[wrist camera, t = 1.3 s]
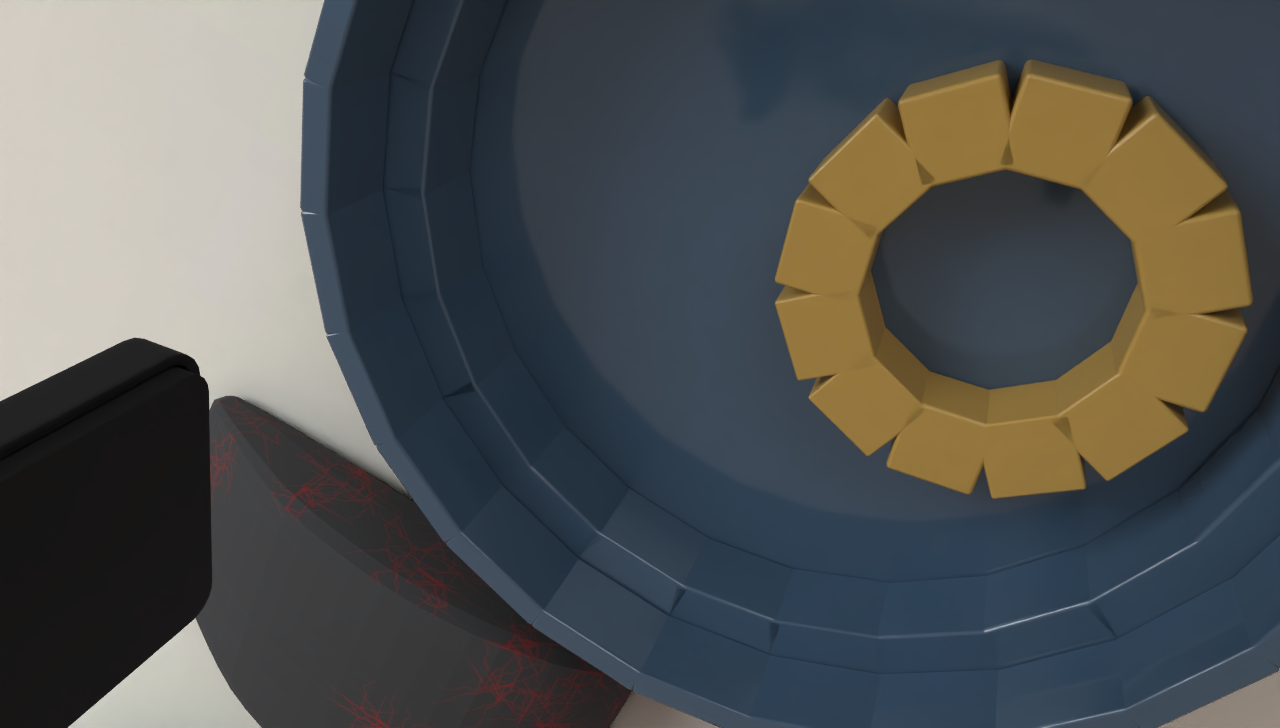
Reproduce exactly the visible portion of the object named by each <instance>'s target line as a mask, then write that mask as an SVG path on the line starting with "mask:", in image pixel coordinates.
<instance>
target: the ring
mask: <svg viewBox="0 0 1280 728" xmlns="http://www.w3.org/2000/svg"><path fill="white" fill-rule="evenodd" d="M1132 104H1133V102H1132V97H1131V95H1130V92H1129V90H1128V88H1127V85H1126V84H1125V83H1124V82H1123V81H1119V80H1115V79H1111V78H1107V77H1103V76H1099V75H1094V74H1090V73H1086V72H1082V71H1078V70H1074V69H1070V68H1066V67H1062V66H1057V65H1053V64H1049V63H1045V62H1041V61H1037V60H1033V59H1032V60H1028V61H1027V62H1026V63H1025V65H1024V68H1023V71H1022V73H1021V76H1020V79H1019V82H1018V85H1017V88H1016V90H1015V93H1014V96H1013V99H1012V96H1011V91H1010V86H1009V81H1008V76H1007V71H1006V67H1005V63H1004V62H1003V60H997V61H993V62H989V63H986V64H982V65H979V66H975V67H971V68H968V69H964V70H961V71H957V72H953V73H950V74H946V75H943V76H939V77H935V78H932V79H928V80H925V81H921V82H918V83H914V84H911V85H909V86H908V87H907V89H906V90H905V92H904V93H903V95H902V97H901V98H900V100H899V101H898V107H897V106H896V105H895V104H894V103H893V102H892V101H891V100H890V99H889V98H886V99H884V100H883V101H882V102H881V103H880V104H879V105H878V106H877V107H876V108H875V109H874V110H873V111H872V112H871V113H870V114H869V115H868V116H867V117H866V118H865V119H864V120H863V121H862V122H861V123H860V124H859V125H858V126H857V127H856V128H854V129H853V130H852V131H851V132H850V133H849V134H848V135H847V136H846V137H845V138H844V139H843V140H842V141H841V142H840V143H839V144H838V145H837V146H836V147H835V148H834V149H833V150H832V151H831V152H830V153H829V154H828V155H827V156H826V157H825V158H824V159H823V160H822V162H821V163H820V164H819V165H818V167H817V168H816V169H815V171H814V172H813V173H812V175H811V176H810V177H809V179H808V181H809V184H808V185H807V187H806V188H805V189H804V191H803V192H802V193H801V195H800V196H799V197H798V198H797V200H796V201H795V205H794V208H793V212H792V216H791V220H790V223H789V227H788V231H787V235H786V238H785V242H784V246H783V250H782V253H781V257H780V261H779V265H778V268H777V272H776V276H775V282H776V283H778V284H782V285H785V287H784V289H783V290H782V292H781V293H780V295H779V297H778V298H777V300H776V301H775V306H776V309H777V313H778V316H779V319H780V323H781V326H782V330H783V333H784V336H785V340H786V343H787V347H788V350H789V354H790V357H791V360H792V364H793V367H794V371H795V374H796V377H797V379H798V380H799V381H801V380H807V379H813V378H817V379H816V381H815V384H814V386H813V388H812V390H811V392H810V395H809V397H808V398H809V400H810V401H811V402H812V403H813V404H814V405H815V406H817V407H818V408H819V409H820V410H821V411H822V412H823V413H824V414H825V415H826V416H827V417H828V418H829V419H830V420H831V421H832V422H833V423H834V424H835V425H836V426H837V427H838V428H839V429H840V430H841V431H842V432H843V433H844V434H845V435H846V436H847V437H848V438H849V439H850V440H851V441H852V442H853V443H854V444H855V445H856V446H857V447H858V448H859V449H860V450H861V451H862V452H863V453H864V454H865V455H866V456H871V455H872V454H873V453H875V452H876V451H877V450H879V449H880V448H881V447H883V446H884V445H885V444H887V443H888V442H889V441H891V440H892V443H891V447H890V451H889V455H888V459H887V462H886V464H887V467H888V468H889V469H892V470H895V471H898V472H901V473H904V474H907V475H910V476H913V477H916V478H919V479H922V480H925V481H928V482H931V483H934V484H937V485H939V486H942V487H945V488H948V489H951V490H954V491H957V492H960V493H963V494H966V495H970V494H971V493H972V492H973V490H974V487H975V485H976V483H977V480H978V478H979V475H980V473H981V470H982V468H983V466H984V469H985V473H986V478H987V482H988V486H989V490H990V494H991V497H992V498H993V499H998V498H1007V497H1017V496H1026V495H1036V494H1046V493H1055V492H1065V491H1074V490H1083V489H1085V488H1086V475H1085V462H1084V459H1085V460H1086V461H1087V462H1088V463H1089V464H1090V465H1091V466H1092V467H1093V468H1094V469H1095V470H1096V471H1097V472H1098V473H1099V474H1100V475H1101V476H1102V477H1103V478H1104V479H1105V480H1107V481H1110V480H1111V479H1113V478H1115V477H1116V476H1118V475H1119V474H1121V473H1123V472H1124V471H1126V470H1127V469H1129V468H1131V467H1132V466H1134V465H1135V464H1137V463H1139V462H1140V461H1142V460H1143V459H1145V458H1147V457H1148V456H1150V455H1151V454H1153V453H1155V452H1156V451H1158V450H1159V449H1161V448H1163V447H1164V446H1166V445H1167V444H1169V443H1171V442H1172V441H1174V440H1175V439H1177V438H1179V437H1180V436H1182V435H1183V434H1185V433H1187V432H1188V430H1189V429H1188V425H1187V421H1186V418H1185V414H1184V410H1183V407H1186V408H1189V409H1192V410H1195V411H1199V412H1205V411H1206V410H1207V409H1208V407H1209V405H1210V403H1211V402H1212V400H1213V398H1214V396H1215V394H1216V392H1217V390H1218V388H1219V386H1220V384H1221V382H1222V380H1223V379H1224V377H1225V375H1226V373H1227V371H1228V369H1229V367H1230V365H1231V363H1232V361H1233V359H1234V357H1235V356H1236V354H1237V352H1238V350H1239V348H1240V346H1241V344H1242V342H1243V340H1244V338H1245V336H1246V334H1247V333H1248V327H1247V325H1246V323H1245V320H1244V318H1243V316H1242V314H1241V312H1240V310H1239V308H1242V307H1248V306H1250V305H1252V303H1253V292H1252V285H1251V278H1250V271H1249V264H1248V257H1247V249H1246V242H1245V235H1244V228H1243V221H1242V214H1241V211H1240V210H1239V208H1238V206H1237V205H1236V203H1235V201H1234V200H1233V198H1232V196H1231V195H1230V193H1229V192H1228V190H1227V188H1228V185H1227V182H1226V181H1225V179H1224V177H1223V176H1222V174H1221V172H1220V171H1219V169H1218V168H1217V166H1216V164H1215V163H1214V161H1213V160H1212V159H1211V158H1210V157H1209V156H1208V155H1207V154H1206V153H1205V152H1204V151H1203V150H1202V149H1201V148H1200V147H1199V146H1198V145H1197V144H1196V143H1195V142H1194V141H1193V140H1192V139H1191V138H1190V137H1189V135H1188V134H1187V133H1186V132H1185V131H1184V130H1183V129H1182V128H1181V127H1180V126H1179V125H1178V124H1177V123H1176V122H1175V121H1174V120H1173V119H1172V118H1171V117H1170V116H1169V115H1168V114H1167V113H1166V112H1165V111H1164V110H1163V109H1162V108H1161V107H1160V105H1159V104H1158V103H1157V102H1156V101H1155V100H1154V99H1153V98H1152V97H1150V96H1146V97H1144V98H1142V99H1141V100H1140V101H1139V102H1138V103H1136V104H1135V105H1134V106H1133V107H1132V108H1131V106H1132ZM1003 170H1009V171H1013V172H1017V173H1020V174H1024V175H1028V176H1032V177H1035V178H1039V179H1043V180H1047V181H1050V182H1054V183H1058V184H1061V185H1065V186H1069V187H1073V188H1076V189H1080V190H1082V191H1083V192H1084V193H1085V194H1086V195H1087V196H1088V197H1089V198H1090V200H1091V201H1092V202H1093V203H1094V204H1095V205H1096V206H1097V207H1098V208H1099V209H1100V210H1101V211H1102V212H1103V213H1104V214H1105V215H1106V216H1107V217H1108V218H1109V219H1110V220H1111V221H1112V222H1113V223H1114V224H1115V225H1116V226H1117V227H1118V228H1119V229H1120V230H1121V231H1122V232H1123V233H1124V234H1125V235H1126V236H1127V237H1128V238H1129V239H1130V242H1131V248H1132V253H1133V259H1134V265H1135V270H1136V276H1137V282H1138V283H1137V285H1136V287H1135V290H1134V292H1133V294H1132V296H1131V298H1130V301H1129V303H1128V305H1127V307H1126V309H1125V312H1124V314H1123V316H1122V318H1121V321H1120V323H1119V325H1118V327H1117V329H1116V332H1115V334H1114V336H1113V338H1112V340H1111V342H1109V343H1108V344H1106V345H1105V346H1104V347H1102V348H1101V349H1099V350H1098V351H1097V352H1095V353H1094V354H1092V355H1091V356H1089V357H1088V358H1087V359H1085V360H1084V361H1082V362H1081V363H1080V364H1078V365H1077V366H1075V367H1074V368H1072V369H1071V370H1070V371H1068V372H1067V373H1065V374H1064V375H1063V376H1061V377H1060V378H1058V379H1057V380H1052V381H1045V382H1038V383H1032V384H1025V385H1018V386H1011V387H1004V388H998V389H991V390H988V389H985V388H981V387H978V386H975V385H972V384H969V383H965V382H962V381H959V380H956V379H953V378H950V377H946V376H943V375H940V374H937V373H934V372H930V371H929V370H928V369H927V368H926V367H925V366H924V365H923V364H922V363H921V362H920V361H919V360H918V359H917V358H916V357H915V356H914V355H913V354H912V353H911V352H910V351H909V350H908V349H907V348H906V347H905V346H904V345H903V344H902V343H901V342H900V341H899V340H898V339H897V338H896V337H895V336H894V335H893V334H892V333H891V332H890V331H889V330H888V329H887V328H886V327H885V323H884V319H883V315H882V311H881V308H880V304H879V300H878V296H877V292H876V288H875V284H874V281H873V277H872V273H871V268H872V265H873V262H874V259H875V255H876V252H877V249H878V246H879V243H880V239H881V236H882V233H883V230H884V229H886V228H887V227H888V226H889V225H890V224H891V223H892V222H893V221H895V220H896V219H897V218H898V217H899V216H900V215H901V214H902V213H904V212H905V211H906V210H907V209H908V208H909V207H910V206H911V205H913V204H914V203H915V202H916V201H917V200H918V199H919V198H920V197H922V196H923V195H924V194H925V193H926V192H927V191H928V190H929V189H930V188H932V187H935V186H939V185H943V184H947V183H952V182H956V181H960V180H964V179H969V178H973V177H977V176H982V175H986V174H990V173H994V172H999V171H1003Z"/></svg>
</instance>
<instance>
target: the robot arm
mask: <svg viewBox="0 0 1280 728" xmlns="http://www.w3.org/2000/svg"><path fill="white" fill-rule="evenodd" d="M211 589H212V538H211V483H210V428H209V390H208V384H207V382H206V381H205V379H204V378H203V377H201V376H200V372H199V367H198V365H197V363H196V362H195V360H194V359H193V358H191V357H190V356H188V355H186V354H183V353H181V352H178V351H175V350H172V349H170V348H167V347H164V346H162V345H159V344H156V343H154V342H151V341H148V340H146V339H141V338H132V339H129V340H126V341H123V342H121V343H119V344H117V345H115V346H113V347H111V348H109V349H107V350H105V351H103V352H101V353H98V354H96V355H94V356H92V357H90V358H88V359H86V360H84V361H82V362H80V363H78V364H76V365H74V366H72V367H70V368H68V369H66V370H64V371H62V372H60V373H58V374H56V375H53V376H51V377H49V378H47V379H45V380H43V381H41V382H39V383H37V384H35V385H33V386H31V387H29V388H27V389H25V390H23V391H21V392H19V393H17V394H15V395H13V396H10V397H8V398H6V399H4V400H2V401H0V728H68V727H69V726H70V725H71V724H72V723H73V722H75V721H76V720H77V719H78V718H79V717H80V716H82V715H83V714H84V713H85V712H86V711H87V710H89V709H90V708H91V707H92V706H93V705H94V704H96V703H97V702H98V701H99V700H100V699H101V698H103V697H104V696H105V695H106V694H107V693H108V692H110V691H111V690H112V689H113V688H114V687H115V686H117V685H118V684H119V683H120V682H121V681H122V680H124V679H125V678H126V677H127V676H128V675H129V674H131V673H132V672H133V671H134V670H135V669H136V668H138V667H139V666H140V665H141V664H142V663H143V662H145V661H146V660H147V659H148V658H149V657H150V656H152V655H153V654H154V653H155V652H156V651H157V650H159V649H160V648H161V647H162V646H163V645H164V644H166V643H167V642H168V641H169V640H170V639H171V638H173V637H174V636H175V635H176V634H177V633H178V632H180V631H181V630H182V629H183V628H184V627H185V626H187V625H188V624H189V623H190V622H191V621H192V620H194V618H195V617H196V616H197V615H198V614H199V613H200V612H201V610H202V609H203V607H204V606H205V604H206V602H207V600H208V598H209V595H210V592H211Z"/></svg>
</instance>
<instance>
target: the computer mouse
mask: <svg viewBox="0 0 1280 728" xmlns="http://www.w3.org/2000/svg"><path fill="white" fill-rule="evenodd" d="M209 428H210V483H211V538H212V589H211V592H210V595H209V598H208V600H207V602H206V604H205V606H204V607H203V609H202V610H201V612H200V613H199V614H198V615H197V616H196V620H197V622H198V624H199V627H200V629H201V631H202V634H203V636H204V638H205V640H206V643H207V645H208V647H209V649H210V651H211V653H212V655H213V657H214V659H215V661H216V663H217V665H218V667H219V669H220V671H221V673H222V674H223V676H224V678H225V680H226V681H227V683H228V685H229V687H230V688H231V690H232V691H233V693H234V694H235V695H236V697H237V698H238V699H239V701H240V702H241V703H242V705H243V706H244V708H245V709H246V710H247V711H248V712H249V714H250V715H251V716H252V717H253V718H254V719H255V720H256V721H257V723H258V724H259V725H260V726H261V727H262V728H609V727H610V725H611V724H612V722H613V721H614V719H615V718H616V716H617V714H618V713H619V711H620V710H621V708H622V707H623V705H624V703H625V702H626V700H627V699H628V697H629V695H630V694H631V692H632V691H633V689H632V690H630V689H628V688H626V687H625V686H623V685H622V684H620V683H619V682H617V681H615V680H614V679H612V678H611V677H609V676H608V675H606V674H605V673H603V672H602V671H600V670H598V669H597V668H595V667H594V666H592V665H591V664H589V663H588V662H586V661H584V660H583V659H581V658H580V657H578V656H577V655H575V654H574V653H572V652H571V651H569V650H567V649H566V648H564V647H563V646H561V645H560V644H558V643H557V642H555V641H554V640H552V639H550V638H549V637H547V636H546V635H544V634H543V633H541V632H540V631H538V630H536V629H535V628H534V627H533V626H532V624H528V623H527V622H526V621H525V620H524V619H523V618H522V617H521V616H520V615H519V614H518V613H517V612H516V611H515V610H514V609H513V608H512V607H510V606H509V605H508V604H507V603H506V602H505V601H504V600H503V599H502V598H501V597H500V596H499V595H498V594H497V593H496V592H495V591H494V590H493V589H492V588H491V587H489V586H488V585H487V584H486V583H485V582H484V581H483V580H482V579H481V578H480V577H479V576H478V575H477V574H476V573H475V572H474V571H473V570H472V569H471V568H470V567H468V566H467V565H466V564H465V563H464V562H463V561H462V560H461V559H460V558H459V557H458V556H457V555H456V554H455V553H454V552H453V551H452V550H451V549H450V548H449V547H447V545H446V542H443V541H442V539H441V538H440V537H439V535H438V534H437V532H436V531H435V530H434V528H433V527H432V525H431V524H430V522H429V521H428V520H427V518H426V517H425V515H424V514H423V513H422V511H421V510H420V508H419V507H418V506H417V504H416V503H414V502H413V501H411V500H410V499H408V498H406V497H405V496H403V495H402V494H400V493H398V492H397V491H395V490H394V489H392V488H390V487H389V486H387V485H386V484H384V483H382V482H381V481H379V480H378V479H376V478H374V477H373V476H371V475H369V474H368V473H366V472H364V471H363V470H361V469H360V468H358V467H356V466H355V465H353V464H351V463H350V462H348V461H346V460H345V459H343V458H341V457H340V456H338V455H337V454H335V453H333V452H332V451H330V450H328V449H327V448H325V447H323V446H322V445H320V444H319V443H317V442H315V441H314V440H312V439H310V438H309V437H307V436H305V435H304V434H302V433H300V432H299V431H297V430H295V429H294V428H292V427H290V426H289V425H287V424H285V423H284V422H282V421H280V420H278V419H277V418H275V417H273V416H271V415H270V414H268V413H266V412H264V411H263V410H261V409H259V408H257V407H255V406H253V405H252V404H250V403H248V402H246V401H244V400H242V399H241V398H239V397H235V396H225V397H222V398H219V399H216V400H214V402H213V404H212V406H211V408H210V410H209Z"/></svg>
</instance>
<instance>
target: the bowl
mask: <svg viewBox="0 0 1280 728" xmlns="http://www.w3.org/2000/svg"><path fill="white" fill-rule="evenodd" d="M1032 59H1033V60H1037V61H1041V62H1045V63H1049V64H1053V65H1057V66H1062V67H1066V68H1070V69H1074V70H1078V71H1082V72H1086V73H1090V74H1094V75H1099V76H1103V77H1107V78H1111V79H1115V80H1119V81H1123V82H1124V83H1125V84H1126V85H1127V88H1128V90H1129V92H1130V95H1131V97H1132V102H1133V104H1132V106H1131V108H1132V107H1133V106H1134V105H1135V104H1136V103H1138V102H1139V101H1140V100H1141V99H1142V98H1144V97H1146V96H1150V97H1152V98H1153V99H1154V100H1155V101H1156V102H1157V103H1158V104H1159V105H1160V107H1161V108H1162V109H1163V110H1164V111H1165V112H1166V113H1167V114H1168V115H1169V116H1170V117H1171V118H1172V119H1173V120H1174V121H1175V122H1176V123H1177V124H1178V125H1179V126H1180V127H1181V128H1182V129H1183V130H1184V131H1185V132H1186V133H1187V134H1188V135H1189V137H1190V138H1191V139H1192V140H1193V141H1194V142H1195V143H1196V144H1197V145H1198V146H1199V147H1200V148H1201V149H1202V150H1203V151H1204V152H1205V153H1206V154H1207V155H1208V156H1209V157H1210V158H1211V159H1212V160H1213V161H1214V163H1215V164H1216V166H1217V168H1218V169H1219V171H1220V172H1221V174H1222V176H1223V177H1224V179H1225V181H1226V182H1227V185H1228V188H1227V190H1228V192H1229V193H1230V195H1231V196H1232V198H1233V200H1234V201H1235V203H1236V205H1237V206H1238V208H1239V210H1240V211H1241V214H1242V221H1243V228H1244V235H1245V242H1246V249H1247V257H1248V264H1249V271H1250V278H1251V285H1252V292H1253V303H1252V305H1250V306H1248V307H1242V308H1239V310H1240V312H1241V314H1242V316H1243V318H1244V320H1245V323H1246V325H1247V327H1248V333H1247V334H1246V336H1245V338H1244V340H1243V342H1242V344H1241V346H1240V348H1239V350H1238V352H1237V354H1236V356H1235V357H1234V359H1233V361H1232V363H1231V365H1230V367H1229V369H1228V371H1227V373H1226V375H1225V377H1224V379H1223V380H1222V382H1221V384H1220V386H1219V388H1218V390H1217V392H1216V394H1215V396H1214V398H1213V400H1212V402H1211V403H1210V405H1209V407H1208V409H1207V410H1206V411H1205V412H1199V411H1195V410H1192V409H1189V408H1186V407H1183V410H1184V414H1185V418H1186V421H1187V425H1188V429H1189V430H1188V432H1187V433H1185V434H1183V435H1182V436H1180V437H1179V438H1177V439H1175V440H1174V441H1172V442H1171V443H1169V444H1167V445H1166V446H1164V447H1163V448H1161V449H1159V450H1158V451H1156V452H1155V453H1153V454H1151V455H1150V456H1148V457H1147V458H1145V459H1143V460H1142V461H1140V462H1139V463H1137V464H1135V465H1134V466H1132V467H1131V468H1129V469H1127V470H1126V471H1124V472H1123V473H1121V474H1119V475H1118V476H1116V477H1115V478H1113V479H1111V480H1110V481H1107V480H1105V479H1104V478H1103V477H1102V476H1101V475H1100V474H1099V473H1098V472H1097V471H1096V470H1095V469H1094V468H1093V467H1092V466H1091V465H1090V464H1089V463H1088V462H1087V461H1086V460H1085V459H1084V462H1085V475H1086V488H1085V489H1083V490H1074V491H1065V492H1055V493H1046V494H1036V495H1026V496H1017V497H1007V498H998V499H993V498H992V497H991V494H990V490H989V486H988V482H987V478H986V473H985V469H984V466H983V468H982V470H981V473H980V475H979V478H978V480H977V483H976V485H975V487H974V490H973V492H972V493H971V494H970V495H966V494H963V493H960V492H957V491H954V490H951V489H948V488H945V487H942V486H939V485H937V484H934V483H931V482H928V481H925V480H922V479H919V478H916V477H913V476H910V475H907V474H904V473H901V472H898V471H895V470H892V469H889V468H888V467H887V464H886V462H887V459H888V455H889V451H890V447H891V443H892V440H891V441H889V442H888V443H887V444H885V445H884V446H883V447H881V448H880V449H879V450H877V451H876V452H875V453H873V454H872V455H871V456H866V455H865V454H864V453H863V452H862V451H861V450H860V449H859V448H858V447H857V446H856V445H855V444H854V443H853V442H852V441H851V440H850V439H849V438H848V437H847V436H846V435H845V434H844V433H843V432H842V431H841V430H840V429H839V428H838V427H837V426H836V425H835V424H834V423H833V422H832V421H831V420H830V419H829V418H828V417H827V416H826V415H825V414H824V413H823V412H822V411H821V410H820V409H819V408H818V407H817V406H815V405H814V404H813V403H812V402H811V401H810V400H809V398H808V397H809V395H810V392H811V390H812V388H813V386H814V384H815V381H816V379H817V378H813V379H807V380H801V381H799V380H798V379H797V377H796V374H795V371H794V367H793V364H792V360H791V357H790V354H789V350H788V347H787V343H786V340H785V336H784V333H783V330H782V326H781V323H780V319H779V316H778V313H777V309H776V306H775V301H776V300H777V298H778V297H779V295H780V293H781V292H782V290H783V289H784V287H785V285H782V284H778V283H776V282H775V276H776V272H777V268H778V265H779V261H780V257H781V253H782V250H783V246H784V242H785V238H786V235H787V231H788V227H789V223H790V220H791V216H792V212H793V208H794V205H795V201H796V200H797V198H798V197H799V196H800V195H801V193H802V192H803V191H804V189H805V188H806V187H807V185H808V184H809V181H808V179H809V177H810V176H811V175H812V173H813V172H814V171H815V169H816V168H817V167H818V165H819V164H820V163H821V162H822V160H823V159H824V158H825V157H826V156H827V155H828V154H829V153H830V152H831V151H832V150H833V149H834V148H835V147H836V146H837V145H838V144H839V143H840V142H841V141H842V140H843V139H844V138H845V137H846V136H847V135H848V134H849V133H850V132H851V131H852V130H853V129H854V128H856V127H857V126H858V125H859V124H860V123H861V122H862V121H863V120H864V119H865V118H866V117H867V116H868V115H869V114H870V113H871V112H872V111H873V110H874V109H875V108H876V107H877V106H878V105H879V104H880V103H881V102H882V101H883V100H884V99H886V98H889V99H890V100H891V101H892V102H893V103H894V104H895V105H896V106H897V107H898V101H899V100H900V98H901V97H902V95H903V93H904V92H905V90H906V89H907V87H908V86H909V85H911V84H914V83H918V82H921V81H925V80H928V79H932V78H935V77H939V76H943V75H946V74H950V73H953V72H957V71H961V70H964V69H968V68H971V67H975V66H979V65H982V64H986V63H989V62H993V61H997V60H1003V62H1004V63H1005V67H1006V71H1007V76H1008V81H1009V86H1010V91H1011V96H1012V99H1013V96H1014V93H1015V90H1016V88H1017V85H1018V82H1019V79H1020V76H1021V73H1022V71H1023V68H1024V65H1025V63H1026V62H1027V61H1028V60H1032ZM304 76H305V79H304V81H303V112H302V156H301V201H300V208H301V210H302V212H301V217H302V221H303V226H304V231H305V236H306V241H307V246H308V250H309V255H310V260H311V265H312V270H313V275H314V279H315V284H316V289H317V294H318V299H319V303H320V308H321V313H322V318H323V323H324V328H325V332H326V333H327V339H328V341H329V344H330V346H331V348H332V350H333V353H334V355H335V357H336V359H337V362H338V364H339V366H340V368H341V371H342V373H343V375H344V377H345V380H346V382H347V384H348V386H349V389H350V391H351V393H352V396H353V398H354V400H355V402H356V405H357V407H358V409H359V411H360V414H361V416H362V418H363V420H364V423H365V425H366V427H367V429H368V432H369V434H370V436H371V438H372V441H373V443H374V445H377V449H378V451H379V452H380V453H381V455H382V456H383V458H384V459H385V461H386V462H387V463H388V465H389V466H390V468H391V469H392V470H393V472H394V473H395V475H396V476H397V477H398V479H399V480H400V482H401V483H402V484H403V486H404V487H405V489H406V490H407V492H408V493H409V494H410V496H411V497H412V499H413V500H414V501H415V503H416V504H417V506H418V507H419V508H420V510H421V511H422V513H423V514H424V515H425V517H426V518H427V520H428V521H429V522H430V524H431V525H432V527H433V528H434V530H435V531H436V532H437V534H438V535H439V537H440V538H441V539H442V541H443V542H446V545H447V547H449V548H450V549H451V550H452V551H453V552H454V553H455V554H456V555H457V556H458V557H459V558H460V559H461V560H462V561H463V562H464V563H465V564H466V565H467V566H468V567H470V568H471V569H472V570H473V571H474V572H475V573H476V574H477V575H478V576H479V577H480V578H481V579H482V580H483V581H484V582H485V583H486V584H487V585H488V586H489V587H491V588H492V589H493V590H494V591H495V592H496V593H497V594H498V595H499V596H500V597H501V598H502V599H503V600H504V601H505V602H506V603H507V604H508V605H509V606H510V607H512V608H513V609H514V610H515V611H516V612H517V613H518V614H519V615H520V616H521V617H522V618H523V619H524V620H525V621H526V622H527V623H528V624H532V626H533V627H534V628H535V629H536V630H538V631H540V632H541V633H543V634H544V635H546V636H547V637H549V638H550V639H552V640H554V641H555V642H557V643H558V644H560V645H561V646H563V647H564V648H566V649H567V650H569V651H571V652H572V653H574V654H575V655H577V656H578V657H580V658H581V659H583V660H584V661H586V662H588V663H589V664H591V665H592V666H594V667H595V668H597V669H598V670H600V671H602V672H603V673H605V674H606V675H608V676H609V677H611V678H612V679H614V680H615V681H617V682H619V683H620V684H622V685H623V686H625V687H626V688H628V689H630V690H632V689H633V692H634V693H637V694H639V695H642V696H644V697H647V698H649V699H652V700H654V701H657V702H659V703H661V704H664V705H666V706H669V707H671V708H674V709H676V710H679V711H681V712H684V713H686V714H688V715H691V716H693V717H696V718H698V719H701V720H703V721H706V722H708V723H711V724H713V725H715V726H718V727H720V728H1158V727H1160V726H1162V725H1164V724H1166V723H1168V722H1171V721H1173V720H1175V719H1177V718H1179V717H1181V716H1183V715H1186V714H1188V713H1190V712H1192V711H1194V710H1196V709H1198V708H1201V707H1203V706H1205V705H1207V704H1209V703H1211V702H1214V701H1216V700H1218V699H1220V698H1222V697H1224V696H1226V695H1229V694H1231V693H1233V692H1235V691H1237V690H1239V689H1241V688H1244V687H1246V686H1248V685H1250V684H1252V683H1254V682H1256V681H1259V680H1261V679H1263V678H1265V677H1267V676H1269V675H1271V674H1274V673H1276V672H1278V671H1279V668H1280V0H324V3H323V7H322V11H321V14H320V18H319V22H318V25H317V29H316V33H315V37H314V40H313V44H312V48H311V51H310V55H309V59H308V62H307V66H306V70H305V73H304ZM871 273H872V277H873V281H874V284H875V288H876V292H877V296H878V300H879V304H880V308H881V311H882V315H883V319H884V323H885V327H886V328H887V329H888V330H889V331H890V332H891V333H892V334H893V335H894V336H895V337H896V338H897V339H898V340H899V341H900V342H901V343H902V344H903V345H904V346H905V347H906V348H907V349H908V350H909V351H910V352H911V353H912V354H913V355H914V356H915V357H916V358H917V359H918V360H919V361H920V362H921V363H922V364H923V365H924V366H925V367H926V368H927V369H928V370H929V371H930V372H934V373H937V374H940V375H943V376H946V377H950V378H953V379H956V380H959V381H962V382H965V383H969V384H972V385H975V386H978V387H981V388H985V389H988V390H991V389H998V388H1004V387H1011V386H1018V385H1025V384H1032V383H1038V382H1045V381H1052V380H1057V379H1058V378H1060V377H1061V376H1063V375H1064V374H1065V373H1067V372H1068V371H1070V370H1071V369H1072V368H1074V367H1075V366H1077V365H1078V364H1080V363H1081V362H1082V361H1084V360H1085V359H1087V358H1088V357H1089V356H1091V355H1092V354H1094V353H1095V352H1097V351H1098V350H1099V349H1101V348H1102V347H1104V346H1105V345H1106V344H1108V343H1109V342H1111V340H1112V338H1113V336H1114V334H1115V332H1116V329H1117V327H1118V325H1119V323H1120V321H1121V318H1122V316H1123V314H1124V312H1125V309H1126V307H1127V305H1128V303H1129V301H1130V298H1131V296H1132V294H1133V292H1134V290H1135V287H1136V285H1137V283H1138V282H1137V276H1136V270H1135V265H1134V259H1133V253H1132V248H1131V242H1130V239H1129V238H1128V237H1127V236H1126V235H1125V234H1124V233H1123V232H1122V231H1121V230H1120V229H1119V228H1118V227H1117V226H1116V225H1115V224H1114V223H1113V222H1112V221H1111V220H1110V219H1109V218H1108V217H1107V216H1106V215H1105V214H1104V213H1103V212H1102V211H1101V210H1100V209H1099V208H1098V207H1097V206H1096V205H1095V204H1094V203H1093V202H1092V201H1091V200H1090V198H1089V197H1088V196H1087V195H1086V194H1085V193H1084V192H1083V191H1082V190H1080V189H1076V188H1073V187H1069V186H1065V185H1061V184H1058V183H1054V182H1050V181H1047V180H1043V179H1039V178H1035V177H1032V176H1028V175H1024V174H1020V173H1017V172H1013V171H1009V170H1003V171H999V172H994V173H990V174H986V175H982V176H977V177H973V178H969V179H964V180H960V181H956V182H952V183H947V184H943V185H939V186H935V187H932V188H930V189H929V190H928V191H927V192H926V193H925V194H924V195H923V196H922V197H920V198H919V199H918V200H917V201H916V202H915V203H914V204H913V205H911V206H910V207H909V208H908V209H907V210H906V211H905V212H904V213H902V214H901V215H900V216H899V217H898V218H897V219H896V220H895V221H893V222H892V223H891V224H890V225H889V226H888V227H887V228H886V229H884V230H883V233H882V236H881V239H880V243H879V246H878V249H877V252H876V255H875V259H874V262H873V265H872V268H871Z"/></svg>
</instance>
